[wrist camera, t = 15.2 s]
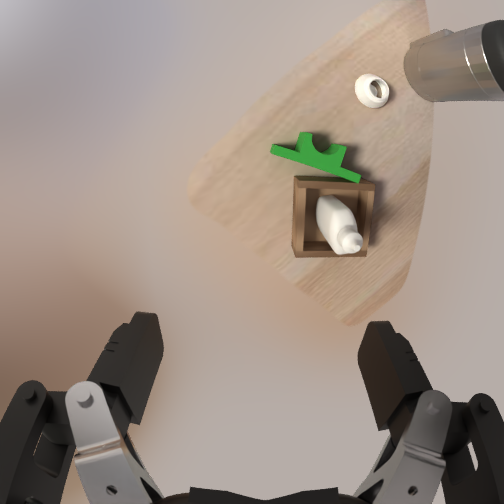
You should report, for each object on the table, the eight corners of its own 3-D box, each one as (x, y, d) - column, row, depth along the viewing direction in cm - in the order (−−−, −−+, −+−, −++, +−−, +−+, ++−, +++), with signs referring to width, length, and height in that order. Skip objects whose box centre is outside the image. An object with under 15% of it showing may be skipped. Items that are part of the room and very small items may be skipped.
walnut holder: (293, 175, 36) (299, 180, 32) (363, 179, 36) (375, 184, 32) (291, 245, 40) (295, 257, 36) (356, 245, 40) (366, 256, 36)
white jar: (347, 90, 31) (373, 115, 32) (354, 87, 28) (382, 114, 30) (367, 68, 29) (391, 93, 31) (375, 63, 27) (401, 91, 28)
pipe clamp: (355, 152, 35) (368, 156, 30) (346, 177, 36) (358, 183, 32) (277, 125, 33) (282, 124, 29) (269, 151, 35) (272, 154, 31)
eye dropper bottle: (348, 201, 37) (386, 230, 26) (332, 237, 39) (362, 278, 28) (321, 189, 36) (350, 215, 25) (305, 227, 38) (326, 266, 27)
